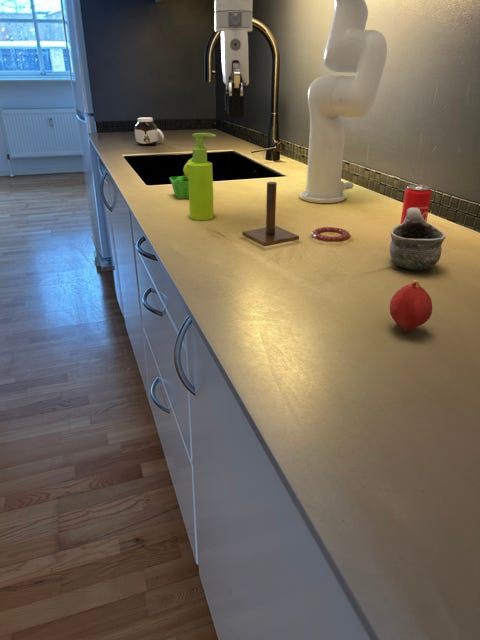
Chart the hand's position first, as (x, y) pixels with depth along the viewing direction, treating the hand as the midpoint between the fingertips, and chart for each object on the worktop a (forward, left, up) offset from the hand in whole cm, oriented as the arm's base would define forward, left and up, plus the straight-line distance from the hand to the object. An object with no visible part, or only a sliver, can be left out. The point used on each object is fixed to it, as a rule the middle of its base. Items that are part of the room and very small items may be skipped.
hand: (234, 114), depth 110 cm
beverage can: (-27, +30, -25) cm, 47 cm away
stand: (-2, +13, -25) cm, 28 cm away
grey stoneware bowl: (-17, +39, -25) cm, 49 cm away
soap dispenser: (+2, -11, -25) cm, 27 cm away
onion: (+4, +58, -25) cm, 63 cm away
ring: (-14, +19, -24) cm, 33 cm away
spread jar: (-33, -134, -25) cm, 140 cm away
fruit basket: (-5, -32, -25) cm, 41 cm away
